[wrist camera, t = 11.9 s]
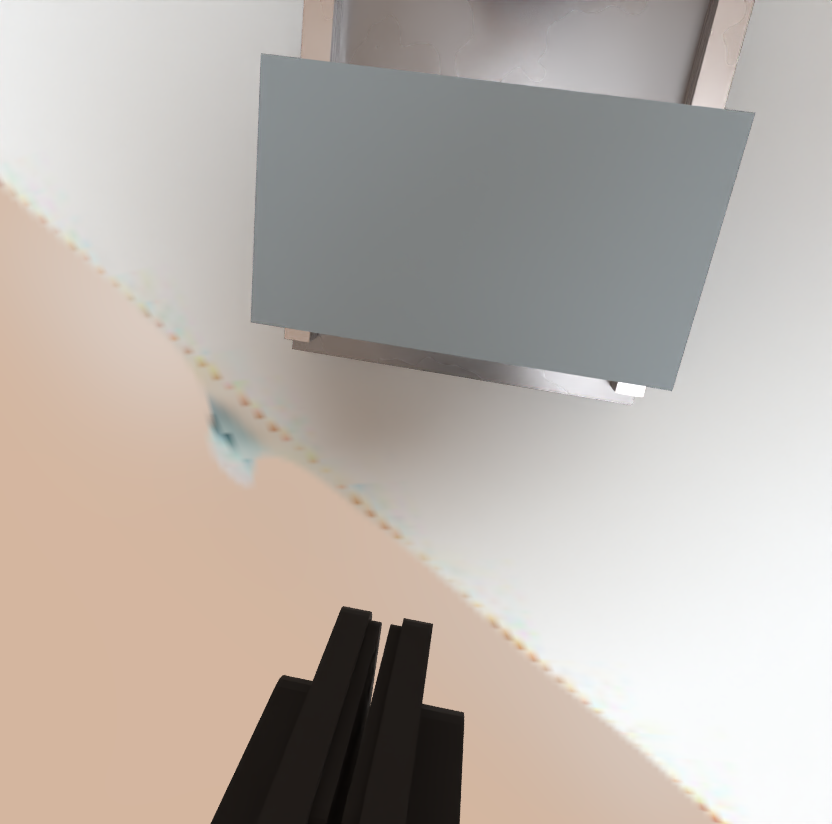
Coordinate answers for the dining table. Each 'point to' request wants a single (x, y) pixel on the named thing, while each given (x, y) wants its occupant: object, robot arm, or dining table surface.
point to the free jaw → (488, 216)
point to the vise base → (534, 66)
